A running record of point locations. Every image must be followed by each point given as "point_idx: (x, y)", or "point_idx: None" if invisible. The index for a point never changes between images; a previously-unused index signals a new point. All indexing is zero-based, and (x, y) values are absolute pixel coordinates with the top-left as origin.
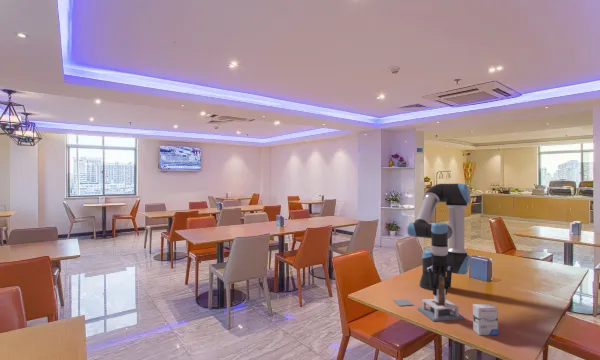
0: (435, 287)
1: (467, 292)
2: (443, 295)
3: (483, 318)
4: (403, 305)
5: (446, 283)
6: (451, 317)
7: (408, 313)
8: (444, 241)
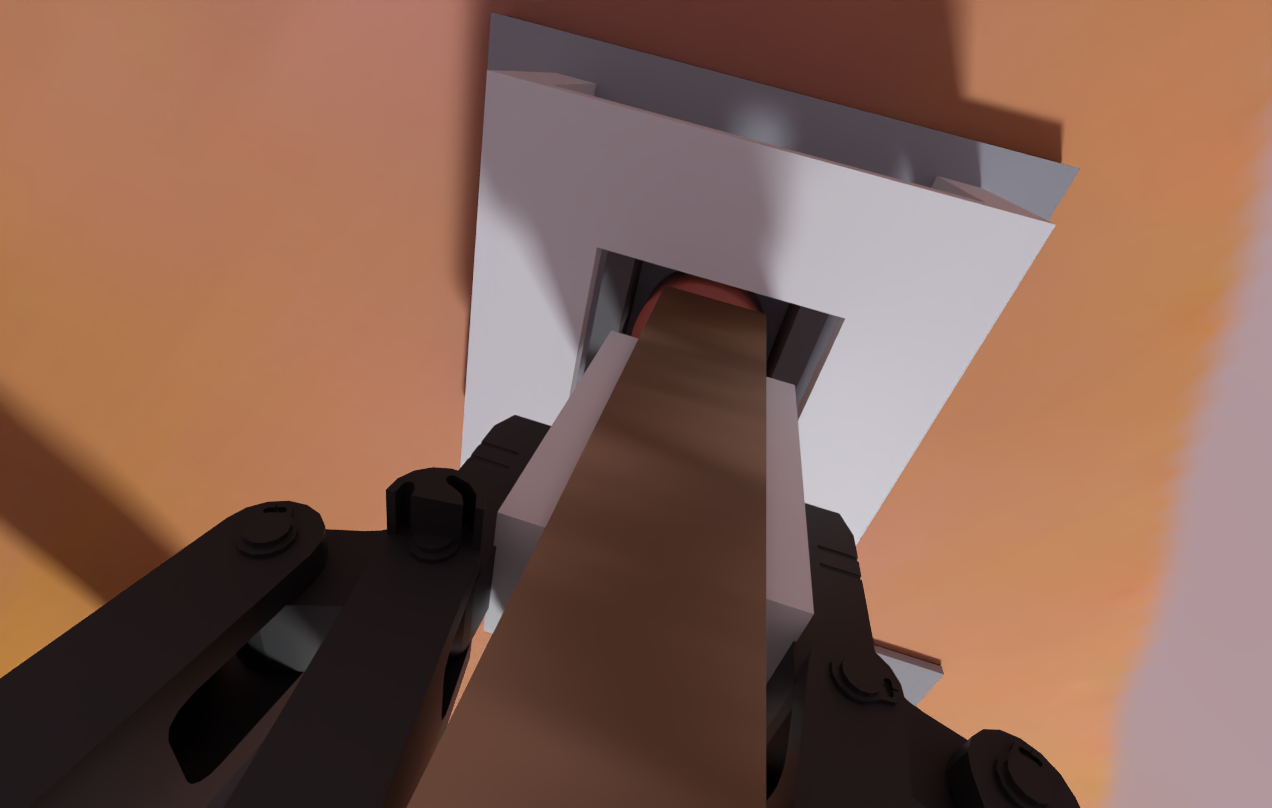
0: (886, 712)
1: (58, 533)
2: (633, 414)
3: None
4: (895, 656)
5: (326, 680)
6: (709, 89)
7: (1068, 519)
8: None
